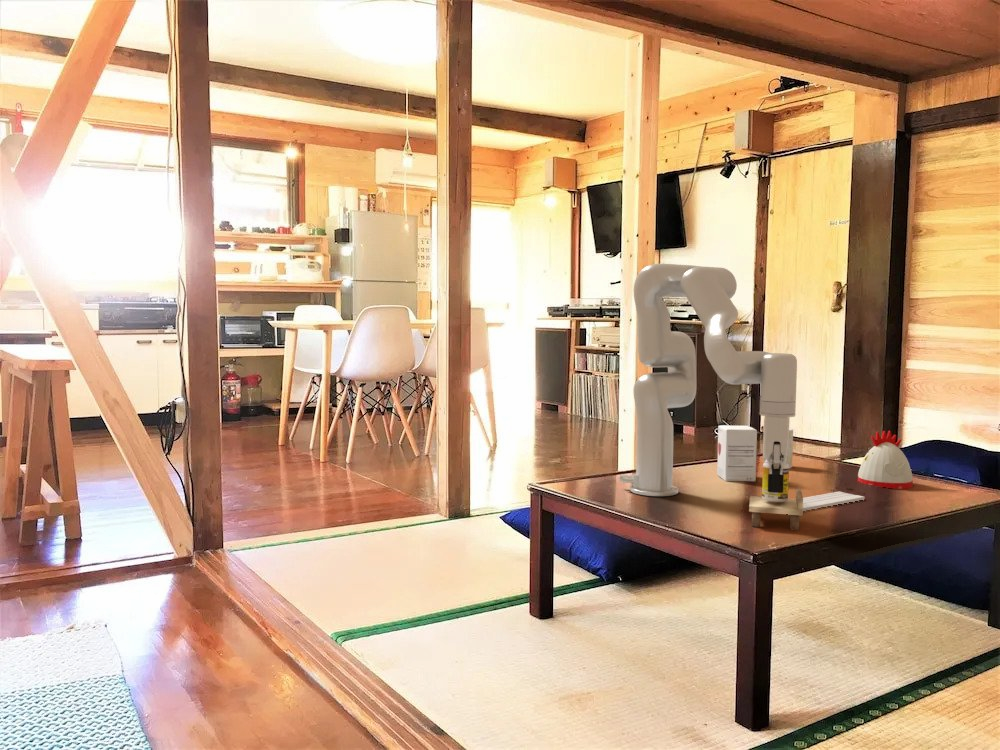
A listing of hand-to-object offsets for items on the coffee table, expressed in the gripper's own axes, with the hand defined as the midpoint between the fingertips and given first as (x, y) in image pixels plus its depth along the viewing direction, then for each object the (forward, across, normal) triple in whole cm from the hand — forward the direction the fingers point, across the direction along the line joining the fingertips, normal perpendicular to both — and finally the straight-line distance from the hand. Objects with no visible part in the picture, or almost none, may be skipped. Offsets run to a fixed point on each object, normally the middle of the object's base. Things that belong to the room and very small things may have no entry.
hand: (775, 488), depth 179 cm
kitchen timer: (+8, -58, +30) cm, 66 cm away
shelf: (+8, 0, 0) cm, 8 cm away
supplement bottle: (+3, 0, 0) cm, 3 cm away
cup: (+8, -76, +2) cm, 76 cm away
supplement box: (+8, -52, -10) cm, 53 cm away
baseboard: (+9, -24, +9) cm, 27 cm away
